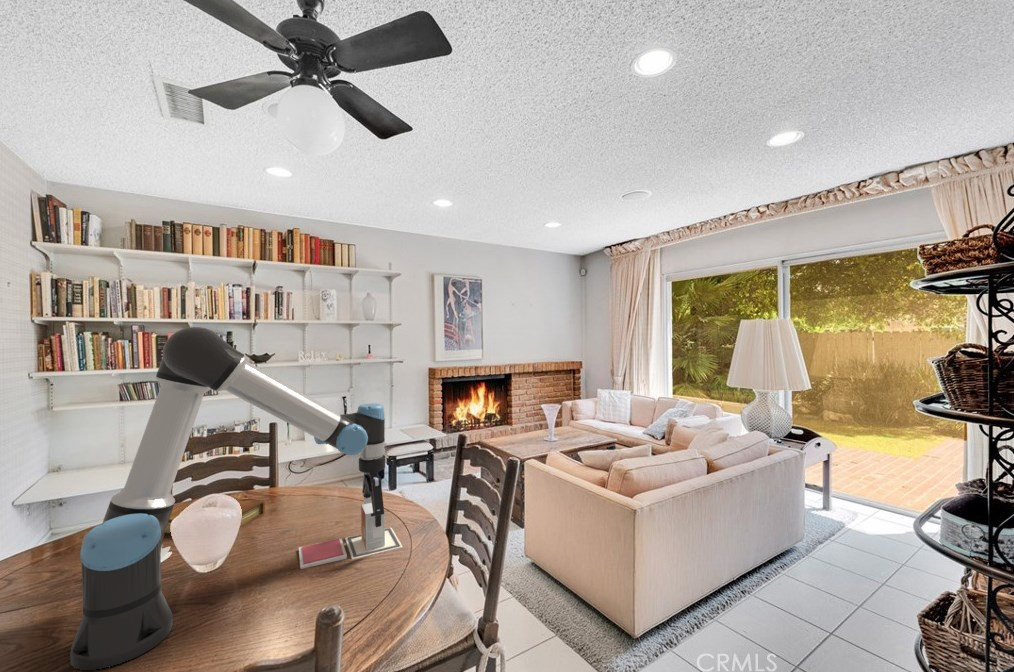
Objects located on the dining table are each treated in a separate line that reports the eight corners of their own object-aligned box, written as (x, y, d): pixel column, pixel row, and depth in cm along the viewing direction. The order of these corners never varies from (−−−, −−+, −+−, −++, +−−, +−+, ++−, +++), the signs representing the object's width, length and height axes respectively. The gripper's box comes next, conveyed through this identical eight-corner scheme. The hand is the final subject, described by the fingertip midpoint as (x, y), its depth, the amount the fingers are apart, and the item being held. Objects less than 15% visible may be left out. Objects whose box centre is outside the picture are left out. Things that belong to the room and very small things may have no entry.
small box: (361, 538, 130) (360, 504, 130) (380, 534, 132) (379, 500, 132) (365, 550, 123) (364, 514, 122) (385, 546, 125) (384, 510, 125)
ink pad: (346, 559, 119) (346, 554, 119) (300, 571, 113) (300, 565, 113) (341, 541, 129) (341, 536, 129) (298, 551, 123) (298, 546, 123)
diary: (265, 515, 149) (264, 499, 149) (219, 541, 131) (219, 523, 130) (208, 511, 153) (208, 495, 153) (157, 536, 135) (156, 517, 135)
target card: (402, 547, 125) (402, 545, 125) (352, 560, 118) (352, 558, 118) (391, 528, 137) (391, 526, 137) (345, 539, 130) (345, 537, 130)
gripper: (394, 465, 118) (395, 542, 118) (376, 444, 140) (377, 509, 140) (366, 470, 115) (367, 548, 115) (352, 448, 137) (353, 514, 137)
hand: (373, 527), depth 128 cm, fingers open, 13 cm apart
